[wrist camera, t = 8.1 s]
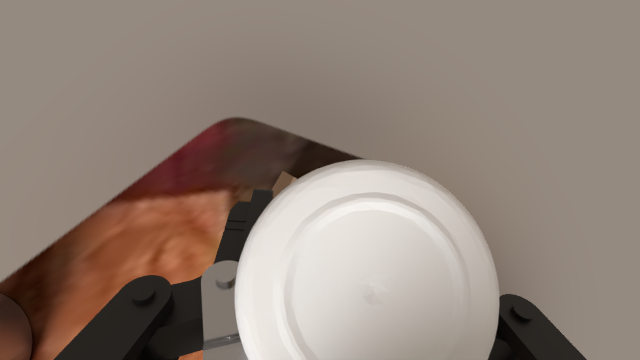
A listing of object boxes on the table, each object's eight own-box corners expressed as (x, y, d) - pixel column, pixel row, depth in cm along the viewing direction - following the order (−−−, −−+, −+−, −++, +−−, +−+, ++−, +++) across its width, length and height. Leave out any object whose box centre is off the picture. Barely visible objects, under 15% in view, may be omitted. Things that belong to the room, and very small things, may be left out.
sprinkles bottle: (262, 228, 19) (202, 187, 5) (341, 207, 19) (460, 126, 6) (282, 312, 18) (268, 503, 5) (363, 288, 18) (553, 397, 5)
